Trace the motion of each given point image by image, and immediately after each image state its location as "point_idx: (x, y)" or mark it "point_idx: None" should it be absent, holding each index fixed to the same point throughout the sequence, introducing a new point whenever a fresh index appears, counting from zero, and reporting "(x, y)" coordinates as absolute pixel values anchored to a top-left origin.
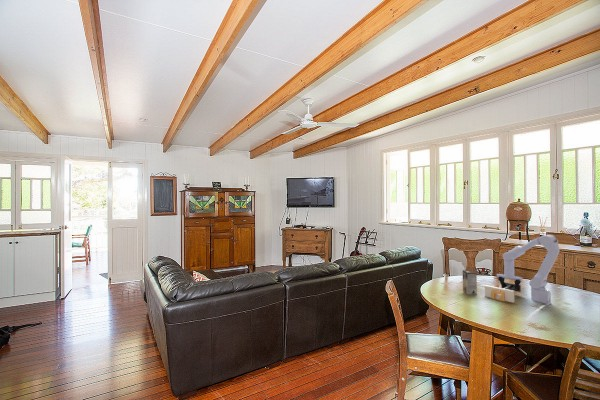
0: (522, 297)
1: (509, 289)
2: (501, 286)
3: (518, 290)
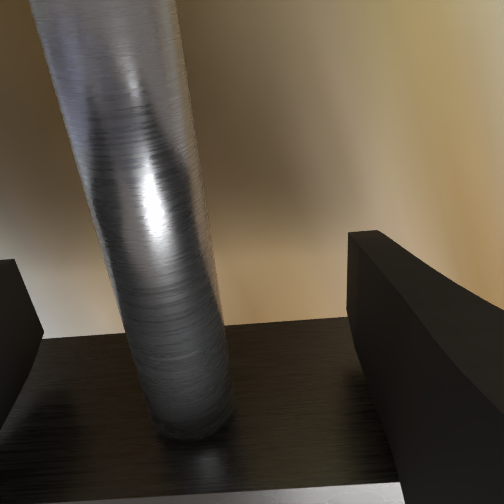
0: None
1: (228, 333)
2: None
3: None
